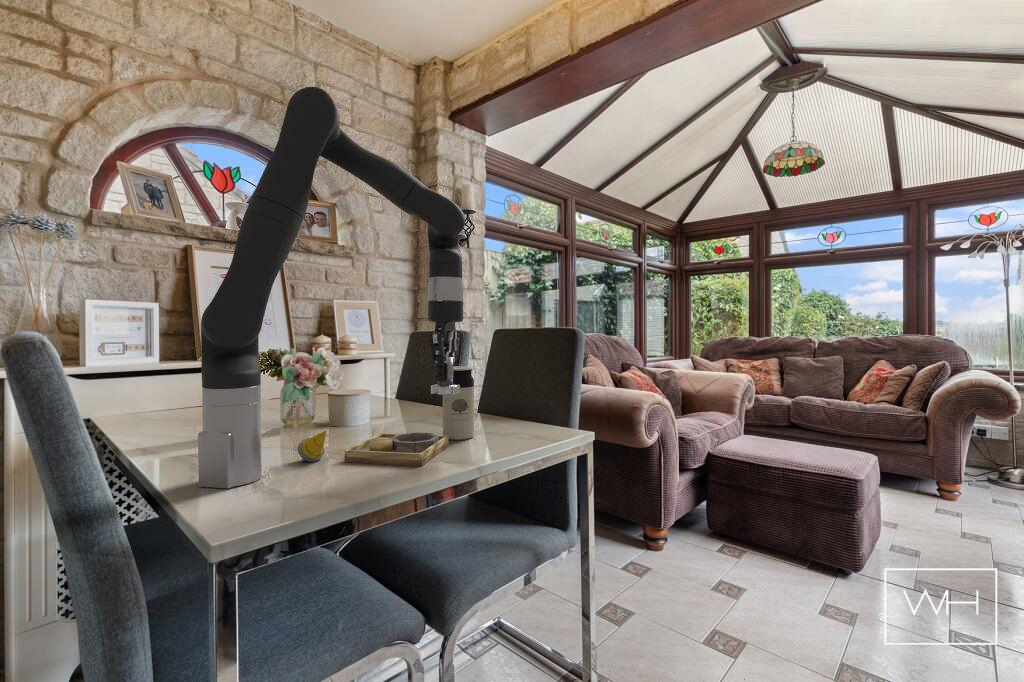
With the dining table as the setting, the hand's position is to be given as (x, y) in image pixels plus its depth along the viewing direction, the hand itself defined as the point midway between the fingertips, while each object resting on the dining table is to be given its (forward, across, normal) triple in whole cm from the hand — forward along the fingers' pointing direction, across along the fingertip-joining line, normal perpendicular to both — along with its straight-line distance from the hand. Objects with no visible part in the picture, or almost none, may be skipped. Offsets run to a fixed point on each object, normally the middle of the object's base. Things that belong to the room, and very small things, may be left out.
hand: (445, 379), depth 103 cm
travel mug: (+17, -20, -3) cm, 26 cm away
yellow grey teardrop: (+17, +7, -26) cm, 32 cm away
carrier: (+17, -2, -11) cm, 20 cm away
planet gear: (+3, 0, 0) cm, 3 cm away
